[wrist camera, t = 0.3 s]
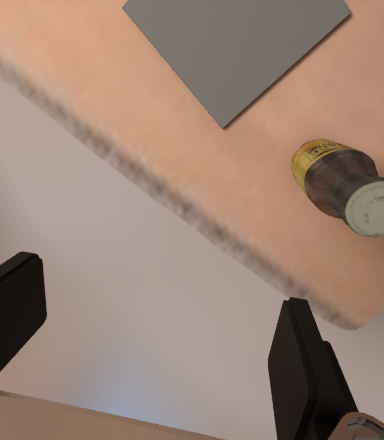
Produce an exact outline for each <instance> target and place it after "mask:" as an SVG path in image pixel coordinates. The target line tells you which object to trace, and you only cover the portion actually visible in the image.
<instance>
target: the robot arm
mask: <svg viewBox="0 0 384 440" xmlns="http://www.w3.org/2000/svg"><path fill="white" fill-rule="evenodd" d="M46 317H47V311H46V298H45V287H44V275H43V262H42V259H40V258H39V256H38V255H37V254H34V253H29V252H19V253H18V254H16V255H15V256H13V257H12V258H10V259H9V260H7V261H6V262H4V263H3V264H1V265H0V371H1V370H2V369H3V368H4V367H5V366H6V365H7V364H8V363H9V361H10V360H11V359H12V358H13V357H14V356H15V355H16V354H17V353H18V351H19V350H20V349H21V348H22V347H23V346H24V345H25V344H26V342H27V341H28V340H29V339H30V338H31V337H32V336H33V335H34V334H35V332H36V331H37V330H38V329H39V328H40V327H41V326H42V325H43V323H44V322H45V320H46ZM268 370H269V378H270V386H271V393H272V401H273V409H274V417H275V424H276V432H277V439H278V440H384V423H382V422H381V421H379V420H378V419H376V418H374V417H373V416H370V415H368V414H365V413H361V412H359V411H358V409H357V407H356V404H355V402H354V399H353V397H352V394H351V392H350V390H349V387H348V385H347V382H346V380H345V378H344V375H343V373H342V370H341V368H340V365H339V363H338V360H337V358H336V355H335V353H334V351H333V348H332V346H331V344H330V343H329V342H328V341H323V340H322V338H321V335H320V332H319V330H318V327H317V325H316V322H315V319H314V317H313V314H312V311H311V309H310V306H309V304H308V301H307V300H305V299H299V298H293V297H290V298H289V300H288V301H286V300H284V301H283V304H282V308H281V312H280V316H279V319H278V323H277V327H276V330H275V334H274V338H273V342H272V345H271V349H270V353H269V357H268ZM0 440H224V439H220V438H216V437H212V436H208V435H204V434H199V433H195V432H190V431H186V430H181V429H176V428H171V427H167V426H163V425H158V424H154V423H149V422H145V421H140V420H136V419H131V418H127V417H122V416H118V415H113V414H108V413H104V412H99V411H95V410H90V409H85V408H80V407H76V406H71V405H67V404H62V403H57V402H52V401H48V400H43V399H39V398H34V397H29V396H24V395H20V394H15V393H10V392H5V391H1V390H0Z"/></svg>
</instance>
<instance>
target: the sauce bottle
mask: <svg viewBox="0 0 384 440" xmlns="http://www.w3.org/2000/svg"><path fill="white" fill-rule="evenodd" d="M292 173H293V176H294V178H295V180H296V181H297V182H298V184H299V185H300V187H301V188H302V189H303V191H304V192H305V194H306V195H307V197H308V198H309V199H310V200H311V202H313V203H314V205H315V206H316V207H317V208H318V209H319V210H320V211H322V212H324V213H325V214H327V215H329V216H333V217H335V218H340V219H343V220H344V222H345V223H346V224H347V225H348V226H349V227H350V228H351V229H352V230H353V231H355V232H356V233H358V234H360V235H363V236H371V237H379V236H384V178H383V177H379V176H378V173H377V170H376V167H375V164H374V162H373V160H372V159H371V158H370V157H369V156H368V155H367V154H365V153H363V152H361V151H358V150H356V149H353V148H350V147H348V146H344V145H341V144H339V143H335V142H332V141H329V140H324V139H318V140H313V141H310V142H308V143H305V144H303V145H302V147H301V148H300V149H299V150H298V151H297V152H296V153H295V155H294V157H293V159H292Z"/></svg>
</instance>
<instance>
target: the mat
mask: <svg viewBox="0 0 384 440" xmlns="http://www.w3.org/2000/svg"><path fill="white" fill-rule="evenodd" d="M122 9H123V10H124V11H125V12H126V13H127V15H128V16H129V17H130V18H131V19H132V21H133V22H134V23H135V24H136V25H137V27H138V28H139V29H140V30H141V32H142V33H143V34H144V35H145V36H146V38H147V39H148V40H149V41H150V42H151V44H152V45H153V46H154V47H155V48H156V50H157V51H158V52H159V53H160V55H161V56H162V57H163V58H164V59H165V61H166V62H167V63H168V64H169V65H170V67H171V68H172V69H173V70H174V71H175V73H176V74H177V75H178V76H179V78H180V79H181V80H182V81H183V82H184V84H185V85H186V86H187V87H188V88H189V90H190V91H191V92H192V93H193V94H194V96H195V97H196V98H197V99H198V100H199V102H200V103H201V104H202V105H203V107H204V108H205V109H206V110H207V111H208V113H209V114H210V115H211V116H212V117H213V119H214V120H215V121H216V122H217V123H218V125H219V126H220V127H221V128H223V127H224V126H226V125H227V124H228V123H229V122H230V121H231V120H232V119H233V118H234V117H235V116H237V115H238V114H239V113H240V112H241V111H242V110H243V109H244V108H245V107H247V106H248V105H249V104H250V103H251V102H252V101H253V100H254V99H255V98H257V97H258V96H259V95H260V94H261V93H262V92H263V91H264V90H265V89H267V88H268V87H269V86H270V85H271V84H272V83H273V82H274V81H275V80H277V79H278V78H279V77H280V76H281V75H282V74H283V73H284V72H285V71H286V70H288V69H289V68H290V67H291V66H292V65H293V64H294V63H295V62H296V61H298V60H299V59H300V58H301V57H302V56H303V55H304V54H305V53H306V52H308V51H309V50H310V49H311V48H312V47H313V46H314V45H315V44H316V43H318V42H319V41H320V40H321V39H322V38H323V37H324V36H325V35H326V34H327V33H329V32H330V31H331V30H332V29H333V28H334V27H335V26H336V25H337V24H339V23H340V22H341V21H342V20H343V19H344V18H345V17H346V16H347V15H349V14H350V13H351V11H350V9H349V8H348V6H347V5H346V3H345V2H344V0H128V1H127V2H126V3H125V4H124V6H123V7H122Z"/></svg>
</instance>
